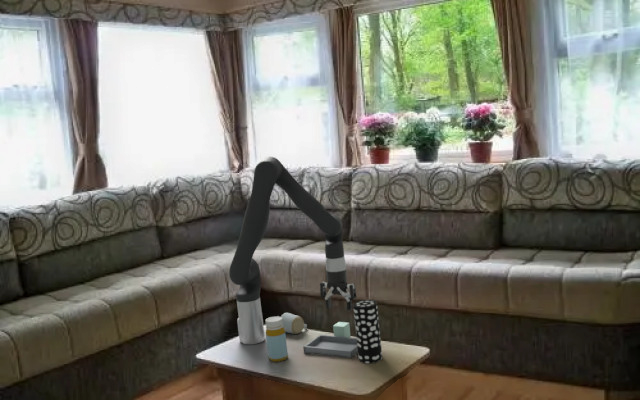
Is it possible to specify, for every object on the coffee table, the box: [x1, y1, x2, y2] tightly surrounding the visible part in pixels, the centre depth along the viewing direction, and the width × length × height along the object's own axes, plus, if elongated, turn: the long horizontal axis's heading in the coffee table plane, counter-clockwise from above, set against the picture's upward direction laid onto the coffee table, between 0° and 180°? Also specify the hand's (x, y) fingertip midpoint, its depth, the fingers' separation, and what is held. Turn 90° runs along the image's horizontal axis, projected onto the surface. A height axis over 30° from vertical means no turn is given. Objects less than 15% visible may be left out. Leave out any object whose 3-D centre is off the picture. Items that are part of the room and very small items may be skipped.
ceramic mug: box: [280, 312, 308, 335], centre depth 264 cm, size 11×8×8 cm
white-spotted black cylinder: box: [352, 299, 383, 364], centre depth 227 cm, size 8×8×20 cm
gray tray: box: [302, 334, 358, 359], centre depth 240 cm, size 20×13×2 cm, turn 60°
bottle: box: [265, 315, 289, 363], centre depth 236 cm, size 7×7×15 cm
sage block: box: [332, 321, 352, 338], centre depth 250 cm, size 5×5×6 cm
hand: (339, 309), depth 249 cm, fingers open, 8 cm apart
